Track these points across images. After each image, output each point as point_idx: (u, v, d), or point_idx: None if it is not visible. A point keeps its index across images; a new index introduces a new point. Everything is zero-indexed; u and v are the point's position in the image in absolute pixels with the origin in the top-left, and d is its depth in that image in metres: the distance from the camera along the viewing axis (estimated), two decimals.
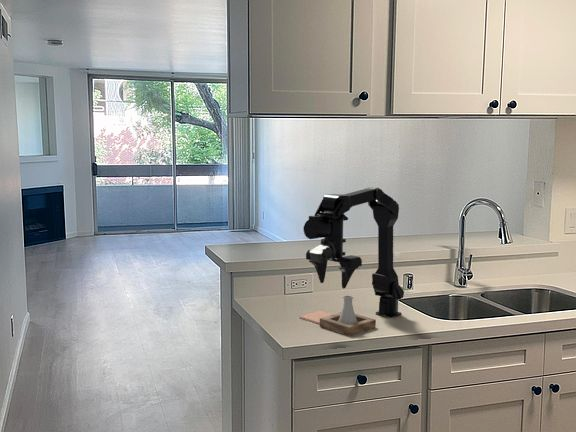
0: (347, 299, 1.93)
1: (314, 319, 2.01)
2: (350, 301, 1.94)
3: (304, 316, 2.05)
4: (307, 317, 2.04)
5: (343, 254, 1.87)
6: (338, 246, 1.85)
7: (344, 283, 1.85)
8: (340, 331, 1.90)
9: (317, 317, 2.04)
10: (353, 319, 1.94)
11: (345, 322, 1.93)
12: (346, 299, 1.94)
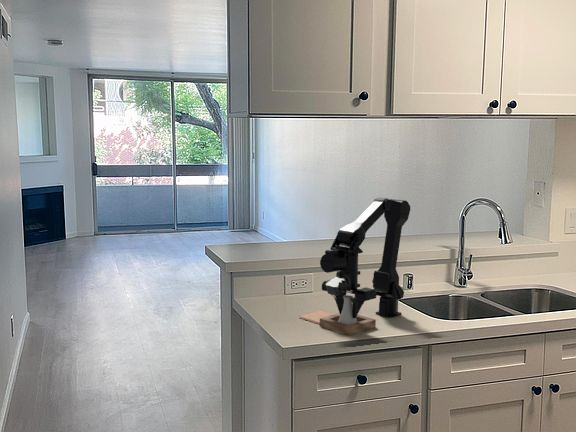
0: (347, 299, 1.93)
1: (314, 319, 2.01)
2: (350, 301, 1.94)
3: (304, 316, 2.05)
4: (307, 317, 2.04)
5: (358, 286, 1.94)
6: (353, 278, 1.91)
7: (355, 313, 1.93)
8: (340, 331, 1.90)
9: (317, 317, 2.04)
10: (353, 319, 1.94)
11: (345, 322, 1.93)
12: (346, 299, 1.94)
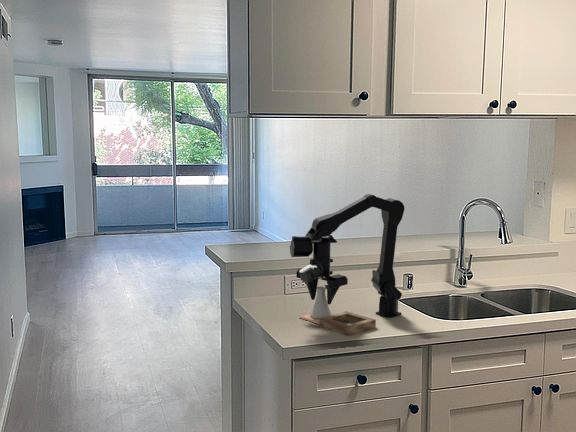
0: (320, 290, 2.02)
1: (314, 319, 2.01)
2: (323, 292, 2.02)
3: (304, 316, 2.05)
4: (307, 317, 2.04)
5: (330, 273, 2.02)
6: (326, 265, 2.00)
7: (329, 299, 2.00)
8: (340, 331, 1.90)
9: None
10: (326, 309, 2.02)
11: (318, 312, 2.02)
12: (319, 290, 2.02)
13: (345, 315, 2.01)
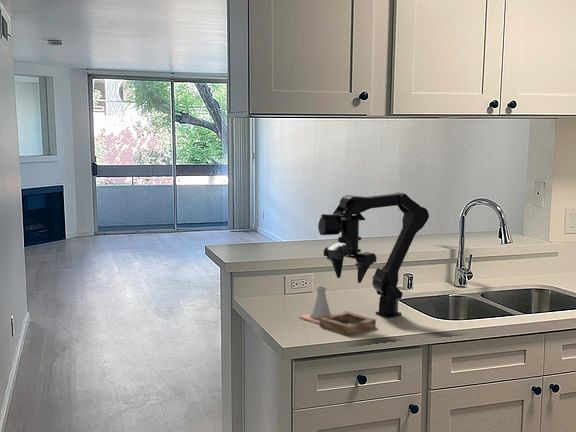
0: (320, 290, 2.02)
1: (314, 319, 2.01)
2: (323, 292, 2.02)
3: (304, 316, 2.05)
4: (307, 317, 2.04)
5: (359, 251, 2.02)
6: (354, 243, 1.99)
7: (360, 278, 1.99)
8: (340, 331, 1.90)
9: None
10: (326, 309, 2.02)
11: (318, 312, 2.02)
12: (319, 290, 2.02)
13: (345, 315, 2.01)
